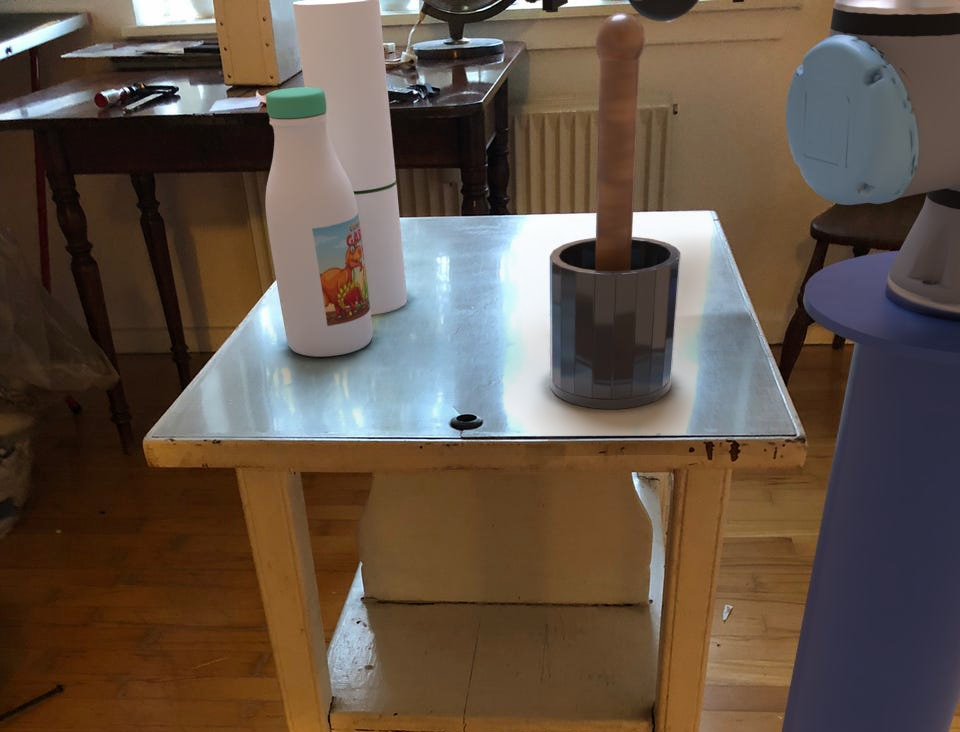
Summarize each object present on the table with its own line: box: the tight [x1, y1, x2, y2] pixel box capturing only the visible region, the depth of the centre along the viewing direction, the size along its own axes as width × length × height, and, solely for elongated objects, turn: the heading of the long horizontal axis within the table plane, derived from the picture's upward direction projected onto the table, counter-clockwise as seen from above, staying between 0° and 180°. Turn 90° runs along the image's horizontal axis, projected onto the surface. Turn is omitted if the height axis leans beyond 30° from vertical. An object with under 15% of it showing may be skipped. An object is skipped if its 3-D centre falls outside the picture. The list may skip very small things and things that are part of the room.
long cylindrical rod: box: [595, 11, 646, 271], centre depth 69 cm, size 5×5×24 cm
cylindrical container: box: [292, 0, 408, 316], centre depth 88 cm, size 7×7×25 cm
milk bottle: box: [265, 86, 374, 357], centre depth 81 cm, size 8×8×20 cm
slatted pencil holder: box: [549, 236, 681, 410], centre depth 74 cm, size 9×9×10 cm
